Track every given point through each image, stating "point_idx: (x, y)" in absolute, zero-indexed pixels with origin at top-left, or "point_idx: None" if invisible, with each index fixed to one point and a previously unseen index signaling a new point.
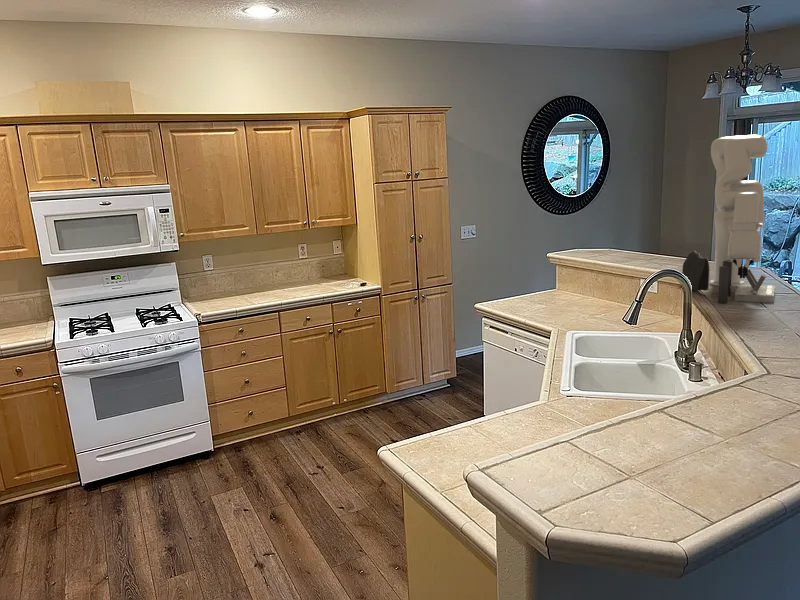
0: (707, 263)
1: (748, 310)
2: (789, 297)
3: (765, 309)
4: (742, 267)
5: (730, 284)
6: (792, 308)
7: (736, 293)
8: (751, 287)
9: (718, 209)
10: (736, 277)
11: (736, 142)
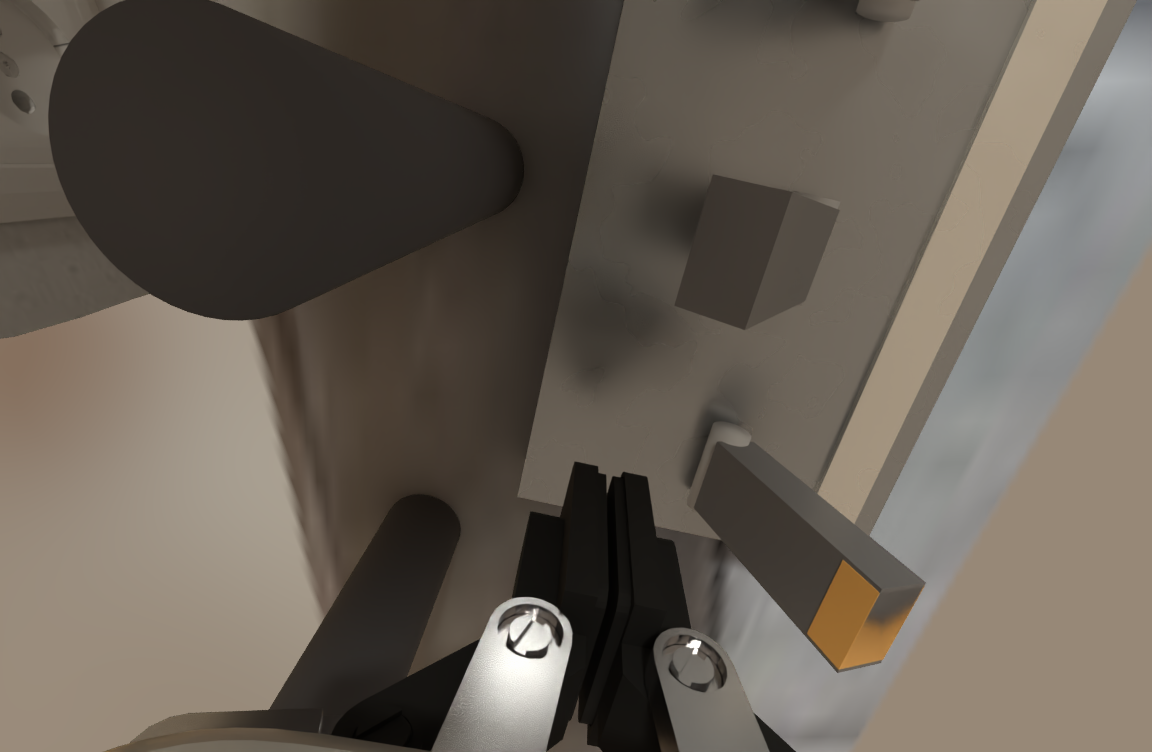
0: None
1: (574, 740)
2: (1095, 270)
3: None
4: (575, 698)
5: (490, 205)
6: (881, 688)
7: (537, 461)
8: (797, 52)
9: None
10: None
11: None
